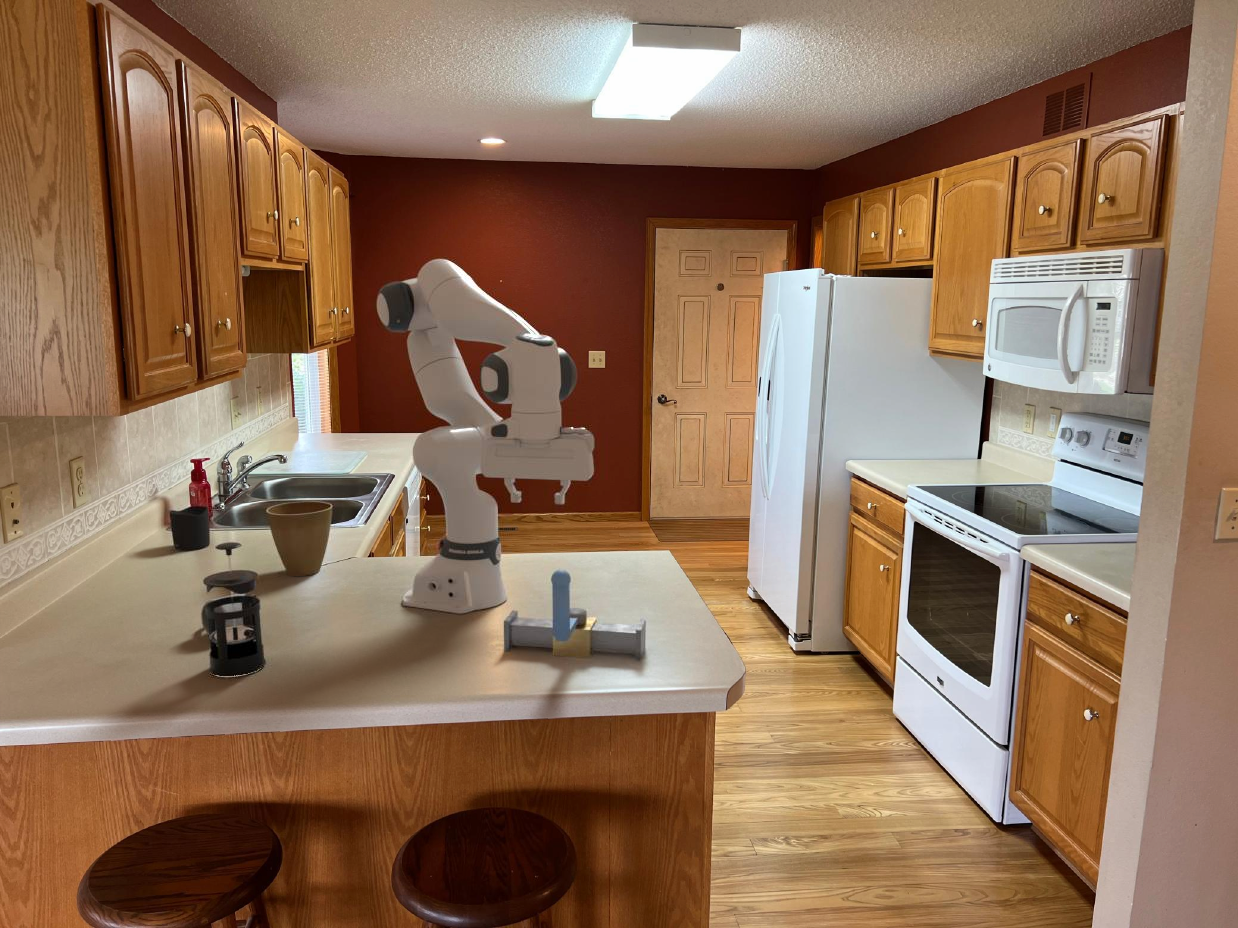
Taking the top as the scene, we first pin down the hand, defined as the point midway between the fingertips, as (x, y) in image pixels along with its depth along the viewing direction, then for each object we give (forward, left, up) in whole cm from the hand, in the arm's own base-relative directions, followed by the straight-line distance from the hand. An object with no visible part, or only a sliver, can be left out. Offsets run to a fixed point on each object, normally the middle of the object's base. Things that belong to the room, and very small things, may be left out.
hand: (537, 502), depth 163 cm
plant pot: (-69, +40, -30) cm, 85 cm away
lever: (+6, -1, -23) cm, 24 cm away
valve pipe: (+6, +4, -29) cm, 30 cm away
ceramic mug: (-65, +1, -30) cm, 71 cm away
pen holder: (-109, +55, -30) cm, 126 cm away
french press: (-52, -14, -30) cm, 62 cm away
